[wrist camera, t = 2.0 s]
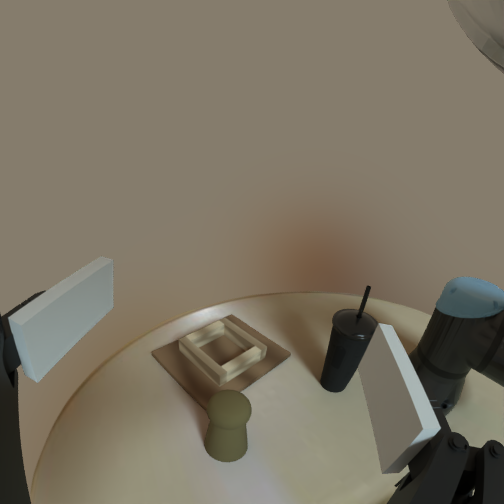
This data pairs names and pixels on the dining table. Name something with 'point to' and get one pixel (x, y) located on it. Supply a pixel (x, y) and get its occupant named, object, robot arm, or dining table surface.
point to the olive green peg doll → (227, 425)
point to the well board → (220, 358)
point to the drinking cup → (347, 345)
